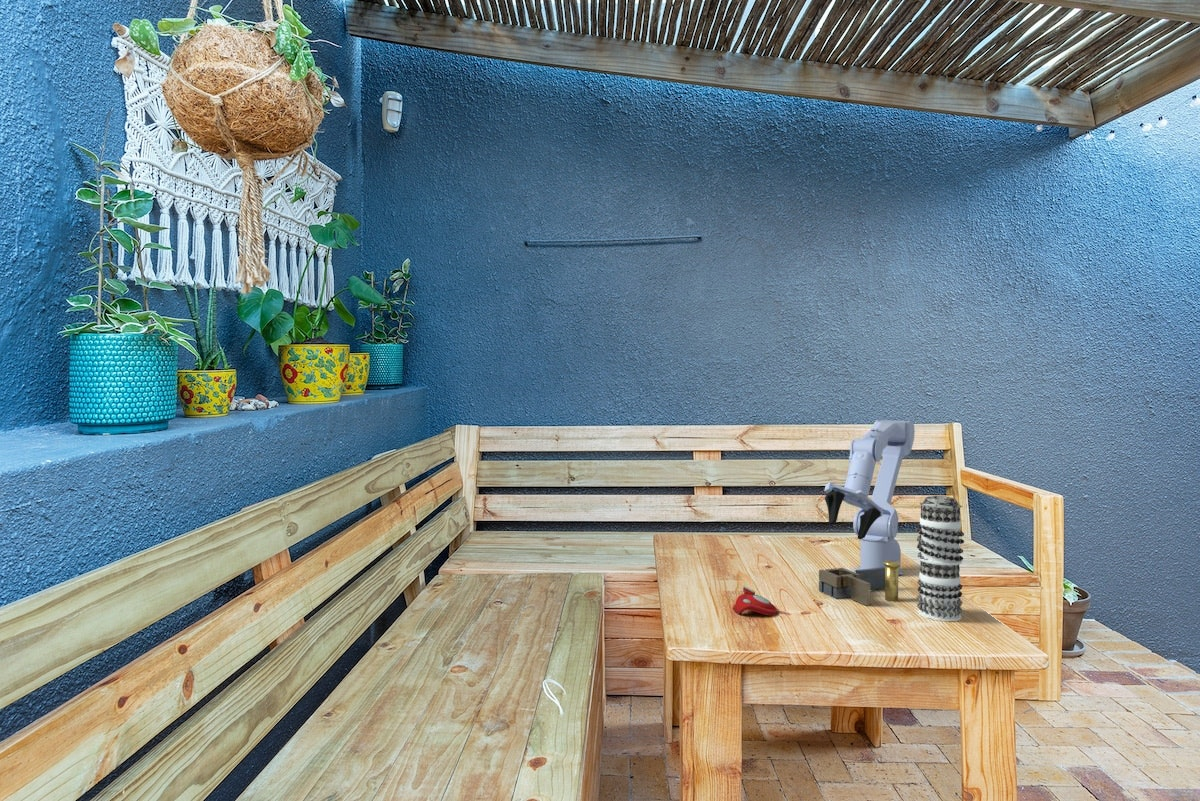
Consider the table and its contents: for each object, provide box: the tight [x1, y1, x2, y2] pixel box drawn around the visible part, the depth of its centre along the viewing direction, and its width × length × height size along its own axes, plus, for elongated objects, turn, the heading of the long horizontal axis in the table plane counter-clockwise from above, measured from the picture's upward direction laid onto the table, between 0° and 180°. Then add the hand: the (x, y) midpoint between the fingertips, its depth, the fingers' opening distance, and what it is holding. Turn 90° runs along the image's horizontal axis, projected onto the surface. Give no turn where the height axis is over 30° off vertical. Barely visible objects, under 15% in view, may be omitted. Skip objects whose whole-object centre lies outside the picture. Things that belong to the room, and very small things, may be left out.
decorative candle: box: [915, 495, 965, 622], centre depth 152 cm, size 9×9×25 cm
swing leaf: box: [818, 567, 871, 606], centre depth 165 cm, size 13×7×5 cm, turn 19°
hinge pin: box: [883, 560, 901, 602], centre depth 163 cm, size 4×4×9 cm
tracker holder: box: [732, 585, 778, 617], centre depth 157 cm, size 12×4×10 cm
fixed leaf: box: [818, 567, 885, 600], centre depth 170 cm, size 16×7×5 cm, turn 109°
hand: (846, 530), depth 167 cm, fingers open, 7 cm apart
